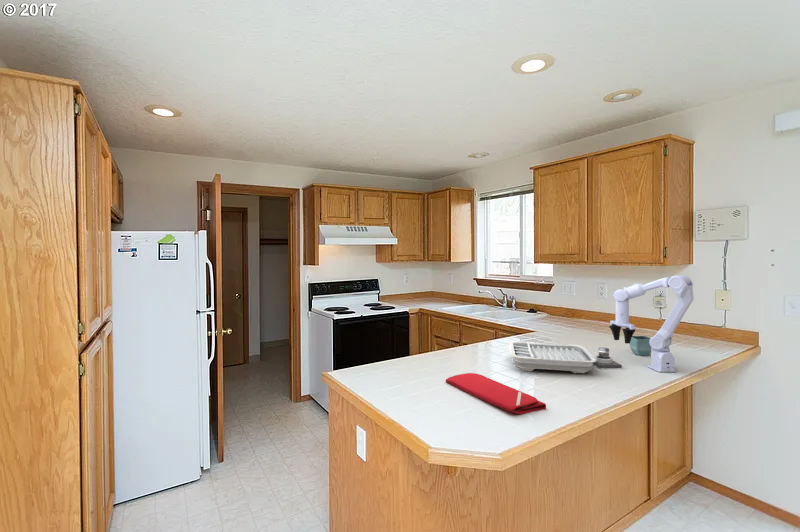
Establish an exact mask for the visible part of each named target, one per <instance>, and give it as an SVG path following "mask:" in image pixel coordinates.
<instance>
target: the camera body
mask: <svg viewBox="0 0 800 532" xmlns="http://www.w3.org/2000/svg"><path fill="white" fill-rule="evenodd" d="M593 356H594V357H595V358H596V359H597V361H596V362H593V364H594V365H593V366H595V367H596V366H597V367H596V368H597V369H600V368H623V367H622V366H623V365H622V364H621V363H619V362H617V361H615V360H614V358H613V357H612V356H610V355H609V359H601V358H599V353H598V354H597V355H593Z"/></svg>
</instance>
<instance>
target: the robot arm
mask: <svg viewBox="0 0 800 532" xmlns="http://www.w3.org/2000/svg"><path fill="white" fill-rule="evenodd" d="M662 287H664V288H670V289H671V290H672V291H673V292H674V293H675V295H676V297H677V300H676V302H675V304H674V305H673V306H672V309H671V310H670V311H669V313H668V316H667V317H666V319H665V321H664V322H663V324H662V325H661V327H660V329H659V330H657V332H656V333H655V335H654V336H652V337H650V338H651V339H650V341H649V344H650V346H651V352H650V364H649V365H648V364H647V365H646V367H647V368H650V369H652V370H654V371H655V372H658V373H676V372H677V370H675V361H676V360H675V356H674V354H672V352H671V348H670V346H671V345H672V342H673V341H672V340H673V337H674V332H676V331H675V330H676V329H677V328H678V325H679V324H680V322H681V321H682V319H683V317H684V315H685V314H686V312H687V311H688V310H689V308H690V306H691V304H692V303H693V301H694V289H693V287H694V283H693V281H692V279H691V278H690V276H688V275H686V274H679V275H672V276H667V277H662V278H659V279H656V280H653V281H651V282H648V283H646V284H642V283H638V282H636V283H633V284H632V285H630V286H624V287H623V288H622V289H620V288H619V289H617V290H615V291H614V293H613V298H614V300H615V320H610V323H609V324H610V325H609V326H608V327H609V329H610V330H611V333H612V336H613V340H614V341H620V335H621V334H620V333H621V330H622V333H623V336H624V343H625V344H629V343H630V341H631V338H632V336H634V334H635V332H636V327H635V324H632V323H631V322H629V321H630V309H629V308H630V305H629V303H630V302H629V301H630V300H631V299H635V298H638V297H641V296H645V295H646V293H647V292H649V291H652V290H655V289H659V288H662Z"/></svg>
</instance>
